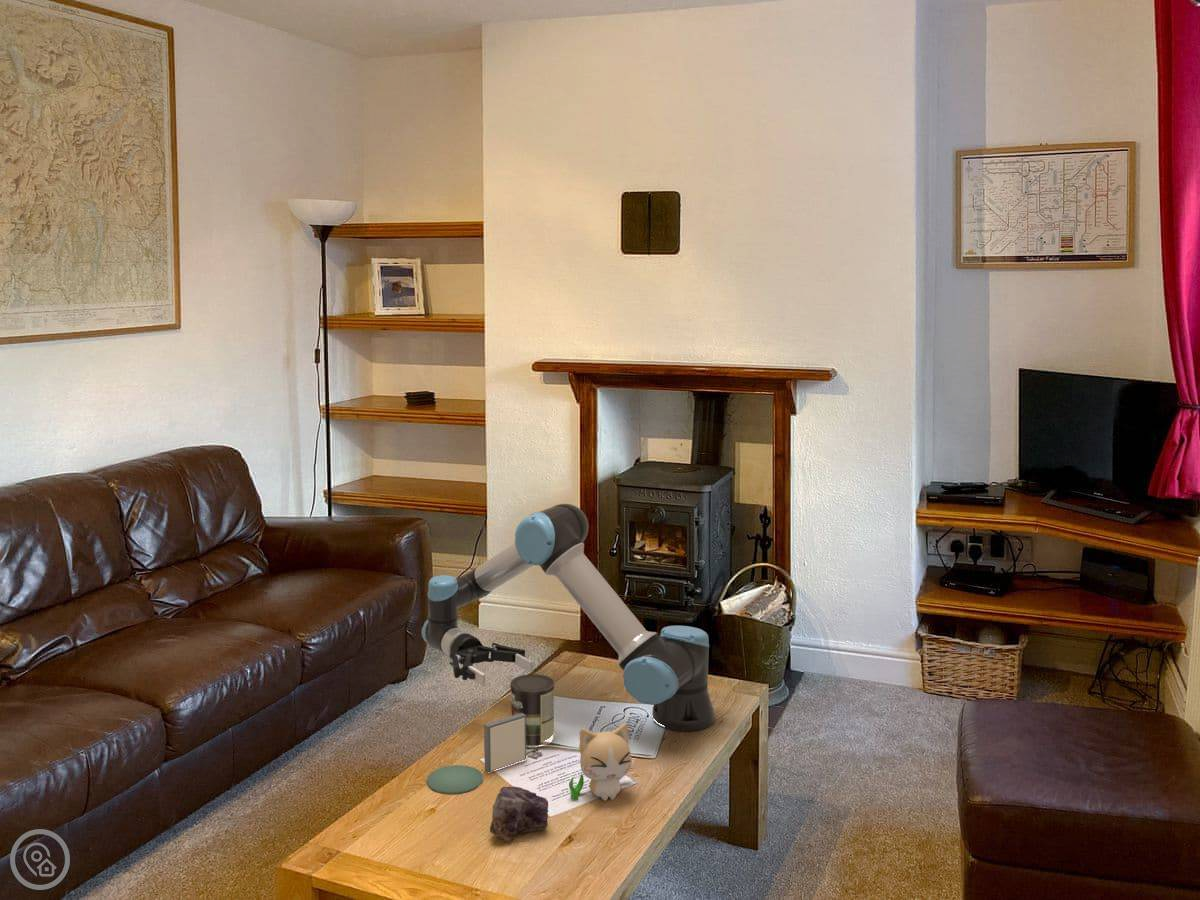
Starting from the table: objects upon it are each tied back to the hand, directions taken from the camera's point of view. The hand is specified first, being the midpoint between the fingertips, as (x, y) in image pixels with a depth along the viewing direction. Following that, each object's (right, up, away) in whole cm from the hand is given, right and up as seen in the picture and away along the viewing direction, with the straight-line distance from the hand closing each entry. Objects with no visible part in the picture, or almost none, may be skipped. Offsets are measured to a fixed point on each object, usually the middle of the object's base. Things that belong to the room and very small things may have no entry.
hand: (508, 673), depth 268 cm
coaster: (-9, -18, -26) cm, 33 cm away
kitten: (+23, -20, -31) cm, 43 cm away
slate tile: (+1, -17, -19) cm, 25 cm away
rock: (+5, -22, -45) cm, 51 cm away
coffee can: (+6, -14, -5) cm, 17 cm away
